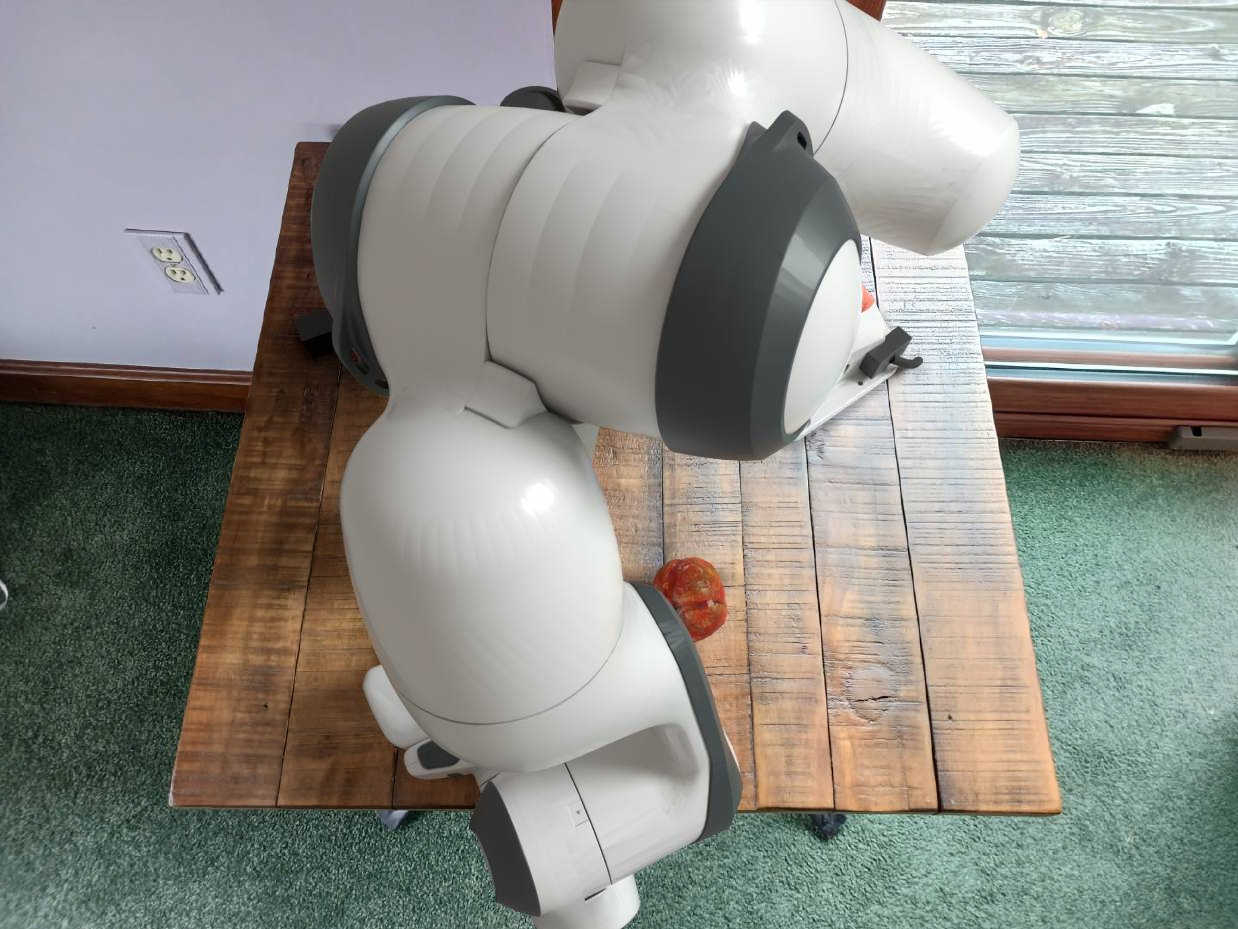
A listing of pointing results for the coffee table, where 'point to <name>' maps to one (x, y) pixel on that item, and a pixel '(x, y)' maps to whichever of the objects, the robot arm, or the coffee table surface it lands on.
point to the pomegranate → (694, 594)
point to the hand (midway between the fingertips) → (458, 577)
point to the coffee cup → (535, 99)
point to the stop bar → (316, 332)
